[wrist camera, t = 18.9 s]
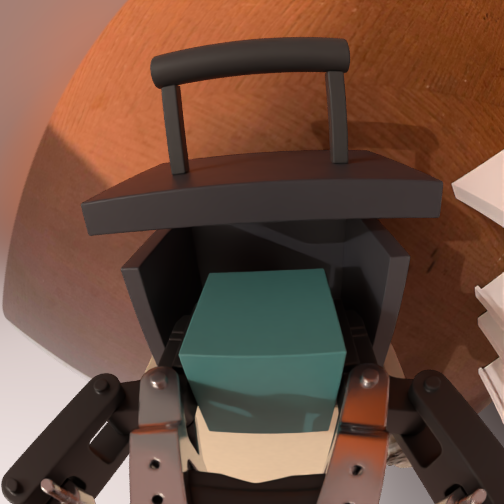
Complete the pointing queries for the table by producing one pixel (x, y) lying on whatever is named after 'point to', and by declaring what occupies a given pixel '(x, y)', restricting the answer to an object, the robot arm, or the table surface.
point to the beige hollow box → (271, 446)
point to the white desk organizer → (500, 289)
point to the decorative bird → (396, 455)
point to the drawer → (264, 201)
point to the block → (265, 352)
